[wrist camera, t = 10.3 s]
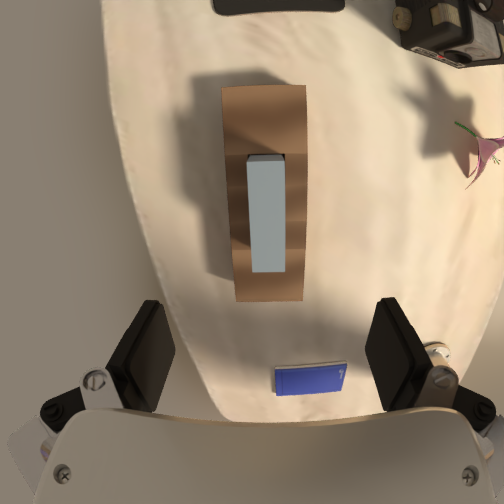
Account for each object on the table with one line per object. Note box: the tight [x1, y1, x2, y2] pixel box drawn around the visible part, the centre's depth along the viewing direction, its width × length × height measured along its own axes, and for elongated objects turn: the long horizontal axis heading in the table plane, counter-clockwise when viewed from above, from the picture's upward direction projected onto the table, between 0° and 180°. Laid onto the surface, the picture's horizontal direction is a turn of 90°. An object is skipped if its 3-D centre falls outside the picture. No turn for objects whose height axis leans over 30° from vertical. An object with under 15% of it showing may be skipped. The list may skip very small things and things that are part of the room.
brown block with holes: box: [221, 85, 308, 302], centre depth 30 cm, size 24×8×4 cm, turn 2°
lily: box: [455, 122, 504, 190], centre depth 23 cm, size 12×12×10 cm
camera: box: [392, 0, 504, 69], centre depth 12 cm, size 11×14×15 cm
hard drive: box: [275, 361, 347, 396], centre depth 45 cm, size 2×8×12 cm
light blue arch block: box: [247, 154, 285, 272], centre depth 27 cm, size 10×3×9 cm, turn 3°
